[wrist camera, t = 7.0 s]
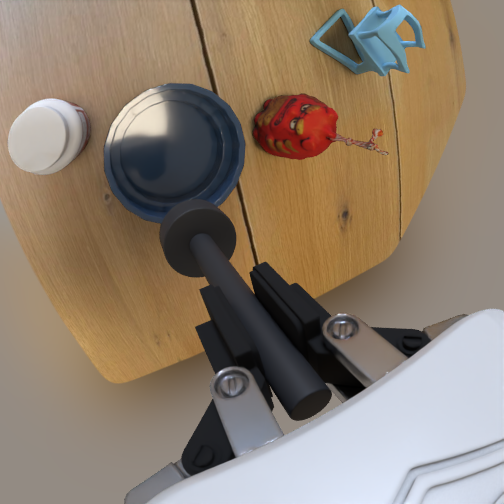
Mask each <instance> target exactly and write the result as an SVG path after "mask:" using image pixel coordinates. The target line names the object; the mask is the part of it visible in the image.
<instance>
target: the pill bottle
mask: <svg viewBox="0 0 504 504" xmlns="http://www.w3.org/2000/svg"><path fill="white" fill-rule="evenodd" d="M90 131H91V126H90V121H89V118H88V115H87V114H86V112H85V111H84V110H83V109H82V108H81V107H80V106H78V105H76V104H74V103H70V102H67V101H63V100H60V99H44V100H40V101H38V102H35V103H34V104H32V105H31V106H29V107H28V108H27V109H26V110H25V111H24V112H23V113H22V114H20V115H19V116H18V117H17V119H16V120H15V121H14V123H13V125H12V127H11V129H10V132H9V136H8V150H9V154H10V157H11V159H12V160H13V162H14V163H15V164H16V165H17V166H18V167H19V168H20V169H22V170H24V171H27V172H31V173H34V174H39V175H48V174H53V173H55V172H58V171H60V170H61V169H63V168H64V167H66V166H67V165H68V164H69V163H70V162H71V161H72V160H74V159H75V158H76V157H77V156H78V155H79V154H80V153H81V152H82V151H83V150H84V148H85V147H86V145H87V143H88V140H89V137H90Z"/></svg>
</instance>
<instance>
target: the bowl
mask: <svg viewBox="0 0 504 504" xmlns="http://www.w3.org/2000/svg"><path fill="white" fill-rule="evenodd" d="M244 158H245V140H244V136H243V132H242V127H241V124H240V122H239V120H238V118H237V117H236V115H235V114H234V112H233V110H232V109H231V107H230V106H229V105H228V104H227V103H226V102H225V101H223V100H222V99H221V98H220V97H219V96H217V95H216V94H215V93H214V92H212V91H210V90H207V89H204V88H202V87H199V86H196V85H193V84H176V83H169V84H165V85H161V86H158V87H155V88H152V89H149V90H146V91H144V92H143V93H141V94H140V95H138V96H137V97H136V98H134V99H133V100H131V101H130V102H129V103H127V104H126V105H125V106H124V107H123V109H122V110H121V112H120V113H119V114H118V116H117V117H116V118H115V120H114V121H113V123H112V124H111V126H110V129H109V132H108V136H107V139H106V142H105V145H104V171H105V174H106V177H107V180H108V182H109V185H110V188H111V190H112V192H113V194H114V195H115V196H116V197H117V199H118V200H119V201H120V202H121V203H122V205H123V206H124V207H125V208H126V209H127V210H129V211H130V212H132V213H134V214H135V215H137V216H139V217H140V218H142V219H144V220H146V221H151V222H155V223H160V224H161V223H162V221H163V219H164V217H165V216H166V214H167V213H168V212H169V211H170V210H171V209H172V208H173V207H174V206H176V205H177V204H179V203H181V202H183V201H186V200H191V199H201V200H206V201H208V202H211V203H212V204H214V205H215V206H217V207H218V206H219V205H221V204H222V203H223V202H224V201H225V200H226V198H227V197H228V196H229V194H230V193H231V192H232V190H233V189H234V188H235V186H236V185H237V182H238V180H239V177H240V174H241V172H242V169H243V166H244Z"/></svg>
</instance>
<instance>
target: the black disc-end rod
mask: <svg viewBox="0 0 504 504" xmlns="http://www.w3.org/2000/svg"><path fill="white" fill-rule="evenodd" d="M160 242H161V246H162V249H163V251H164V254H165V257H166V259H167V261H168V263H169V264H170V266H171V267H172V268H173V269H174V270H175V271H177V272H178V273H180V274H182V275H185V276H188V277H204V276H205V277H206V279H207V281H208V283H209V284H210V285H211V284H212V285H213V286H214V287H216V286H219V287H220V289H221V290H222V292H223V294H224V295H225V297H226V298H227V300H228V302H229V303H230V305H231V306H232V308H233V310H234V311H235V313H236V314H237V316H238V318H239V319H240V321H241V322H242V324H243V325H244V327H245V329H246V330H247V332H248V333H249V335H250V336H251V338H252V339H253V341H254V343H255V345H256V347H257V349H258V351H259V354H260V357H261V361H262V364H263V367H264V370H265V379H266V381H267V382H268V384H269V385H270V387H271V388H272V390H273V392H274V393H275V395H276V396H277V398H278V399H279V401H280V403H281V404H282V406H283V407H284V409H285V410H286V412H287V413H288V415H289V417H290V418H291V419H293V420H296V421H299V420H305V419H308V418H310V417H312V416H314V415H315V414H317V413H318V412H320V411H321V410H322V409H323V408H324V407H325V406H326V405H327V404H328V403H329V401H330V399H331V396H332V393H331V390H330V389H329V387H328V386H327V385H326V384H325V383H324V381H323V380H322V379H321V378H320V376H319V375H318V374H317V373H316V371H315V370H314V369H313V368H312V366H311V365H310V364H309V363H308V361H307V360H306V359H305V358H304V356H303V355H302V354H301V353H300V351H299V350H298V349H297V348H296V346H295V345H294V344H293V343H292V341H291V340H290V339H289V338H288V336H287V335H286V334H285V333H284V331H283V330H282V329H281V328H280V326H279V325H278V324H277V322H276V321H275V320H274V319H273V317H272V316H271V315H270V314H269V312H268V311H267V310H266V308H265V307H264V306H263V305H262V303H261V302H260V301H259V299H258V298H257V297H256V296H255V294H254V293H253V292H252V290H251V289H250V288H249V286H248V285H247V284H246V283H245V281H244V280H243V279H242V277H241V276H240V275H239V273H238V272H237V271H236V270H235V268H234V267H233V266H232V264H231V263H230V262H229V260H230V258H231V257H232V255H233V252H234V250H235V246H236V232H235V228H234V226H233V224H232V222H231V220H230V219H229V218H228V217H227V216H226V215H225V214H224V213H223V212H222V211H221V210H220V209H219V208H218V207H217V206H215V205H214V204H212V203H211V202H208V201H206V200H201V199H191V200H186V201H183V202H181V203H179V204H177V205H176V206H174V207H173V208H172V209H171V210H170V211H169V212H168V213H167V214H166V216H165V217H164V219H163V221H162V223H161V227H160Z"/></svg>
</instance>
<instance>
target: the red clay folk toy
mask: <svg viewBox="0 0 504 504" xmlns="http://www.w3.org/2000/svg"><path fill="white" fill-rule="evenodd" d="M337 119H338V115H337V113H336V112H335V111H334V110H333V109H332V108H329V107H328V106H327V105H326V104H324V103H323V102H321V101H319V100H318V99H317V98H315V97H312V96H309V95H307V94H300V95H292V96H278V97H275V98H274V99H269V100H267V101H266V102H265V104H264V111H262V112H260V113H258V114H257V115H256V117H255V119H254V121H255V127H254V130H253V136H254V138H255V139H256V140H257V141H258V143H259V144H260V145H261V146H262V148H263V149H264V150H265V151H266V152H268V153H269V154H271V155H274V156H279V157H286V158H290V159H298V160H302V159H305V158H307V157H314V156H317V155H319V154H320V153H322V152H323V151H324V150H326V149H327V148H328V147H329V145H330V144H331V143H332V142H335V141H344V142H345V143H346V145H347V146H350V145H352V144H355V145H357V146H360V147H363V148H366V149H368V150H371V151H372V150H376V151H377V152H379V153H381V154H382V155H387V154H388V152H385V151H382V150H380V149H379V148H378V145H377V144H374V143H373V141H374V139H376V138H377V137H378V136H382V135H383V131H382V130H381V129H379V130H378V129H373V131H372V134H373V135H372V138H371V139H370V141H369V142H361V141H355V140H352V138H348V139H346V138H344V137H342V136H341V135H339V134H337V133H336V128H337V127H336V121H337Z"/></svg>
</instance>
